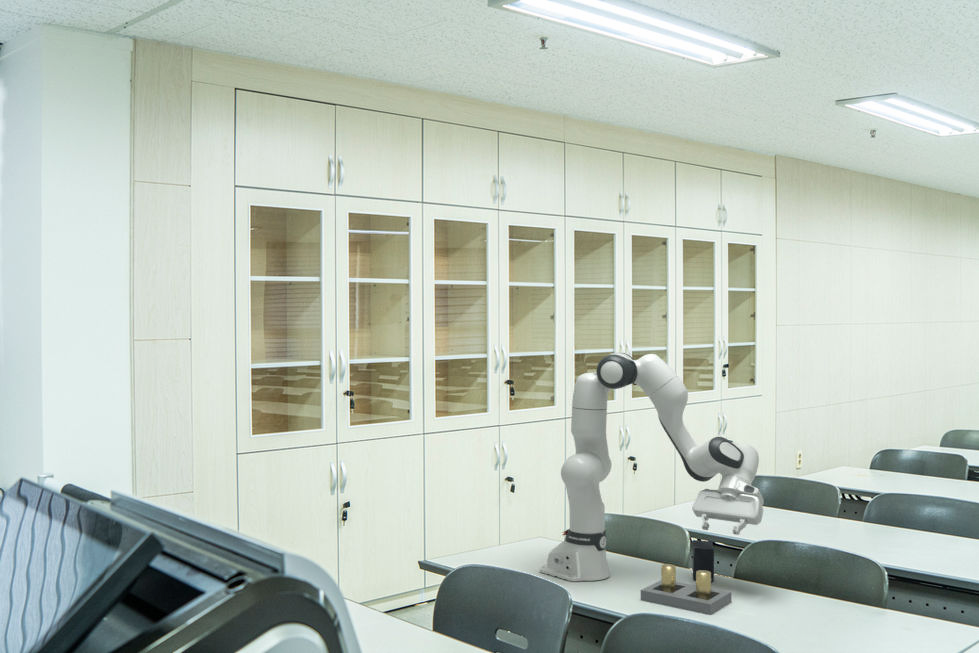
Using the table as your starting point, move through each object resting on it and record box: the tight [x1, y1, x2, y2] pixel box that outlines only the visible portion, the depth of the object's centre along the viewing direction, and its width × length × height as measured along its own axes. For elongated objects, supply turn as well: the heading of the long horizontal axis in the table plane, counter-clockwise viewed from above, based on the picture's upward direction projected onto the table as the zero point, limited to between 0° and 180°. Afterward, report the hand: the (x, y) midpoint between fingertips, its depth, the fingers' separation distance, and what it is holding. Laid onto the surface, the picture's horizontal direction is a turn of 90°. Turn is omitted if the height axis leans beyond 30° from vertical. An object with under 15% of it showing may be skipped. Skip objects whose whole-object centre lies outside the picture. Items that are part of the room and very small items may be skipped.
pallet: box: [640, 579, 732, 616], centre depth 243 cm, size 21×14×4 cm, turn 52°
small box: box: [692, 539, 715, 583], centre depth 269 cm, size 11×6×10 cm, turn 168°
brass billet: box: [695, 570, 712, 600], centre depth 240 cm, size 4×4×9 cm
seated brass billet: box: [661, 563, 677, 593], centre depth 246 cm, size 4×4×9 cm
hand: (719, 531), depth 249 cm, fingers open, 8 cm apart
